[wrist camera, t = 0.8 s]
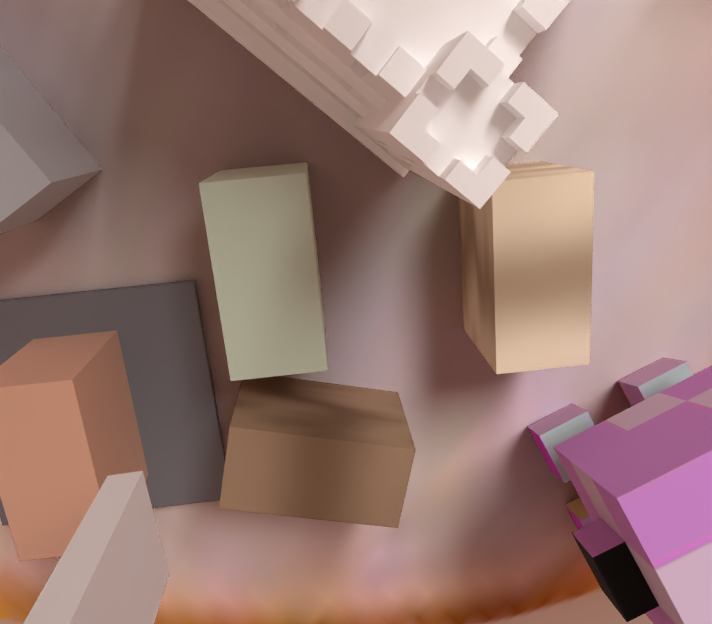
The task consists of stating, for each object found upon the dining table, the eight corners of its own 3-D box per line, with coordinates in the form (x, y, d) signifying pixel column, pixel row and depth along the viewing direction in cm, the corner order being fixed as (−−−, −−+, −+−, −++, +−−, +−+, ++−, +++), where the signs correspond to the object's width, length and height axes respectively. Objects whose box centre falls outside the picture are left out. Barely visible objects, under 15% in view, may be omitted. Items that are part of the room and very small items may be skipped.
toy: (566, 557, 36) (697, 735, 21) (499, 431, 36) (580, 516, 21) (738, 470, 35) (999, 588, 20) (669, 344, 35) (877, 366, 20)
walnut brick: (234, 440, 33) (219, 508, 27) (244, 371, 32) (229, 426, 26) (383, 458, 34) (397, 527, 28) (397, 391, 33) (415, 449, 27)
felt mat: (-59, 305, 30) (-64, 308, 30) (194, 279, 30) (193, 281, 30) (5, 520, 34) (2, 525, 33) (231, 494, 34) (230, 498, 34)
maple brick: (457, 169, 30) (491, 181, 24) (540, 161, 30) (594, 171, 24) (463, 328, 32) (496, 374, 26) (540, 320, 32) (589, 364, 27)
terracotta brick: (33, 339, 30) (-32, 390, 25) (117, 330, 30) (72, 379, 25) (70, 483, 33) (19, 561, 27) (148, 474, 33) (113, 549, 27)
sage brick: (221, 170, 29) (198, 183, 23) (307, 161, 29) (306, 172, 24) (245, 333, 31) (230, 381, 26) (325, 324, 32) (327, 370, 26)
